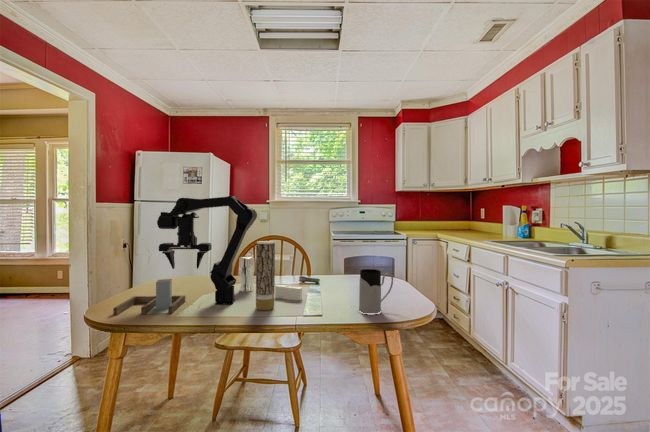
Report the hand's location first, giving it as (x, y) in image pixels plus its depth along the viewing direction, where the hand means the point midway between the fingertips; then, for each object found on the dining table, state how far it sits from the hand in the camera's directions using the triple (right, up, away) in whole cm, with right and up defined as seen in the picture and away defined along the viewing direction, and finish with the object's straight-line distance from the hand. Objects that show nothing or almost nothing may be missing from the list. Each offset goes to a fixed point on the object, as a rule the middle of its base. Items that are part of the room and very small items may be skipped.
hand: (185, 268), depth 130 cm
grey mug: (+74, -14, -9) cm, 76 cm away
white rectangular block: (+40, -14, +7) cm, 43 cm away
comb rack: (-9, -13, -10) cm, 18 cm away
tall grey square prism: (-4, -13, -9) cm, 16 cm away
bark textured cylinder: (+33, -14, -8) cm, 37 cm away
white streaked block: (+20, -13, +19) cm, 30 cm away
